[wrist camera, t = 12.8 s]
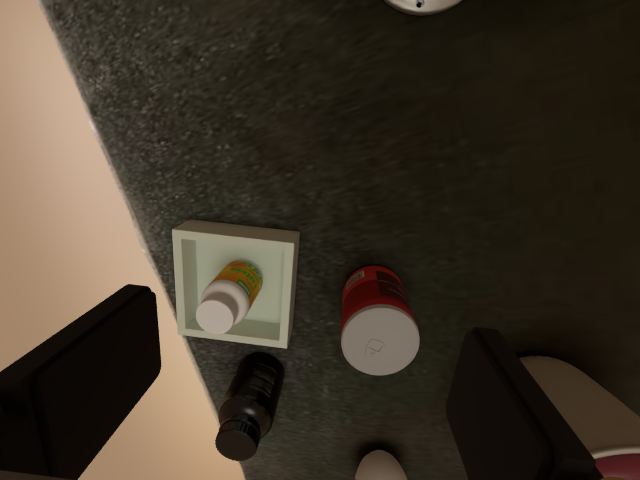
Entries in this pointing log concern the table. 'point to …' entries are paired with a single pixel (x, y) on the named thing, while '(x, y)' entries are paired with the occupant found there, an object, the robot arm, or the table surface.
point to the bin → (214, 255)
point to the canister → (591, 415)
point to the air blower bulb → (379, 467)
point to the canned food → (377, 322)
